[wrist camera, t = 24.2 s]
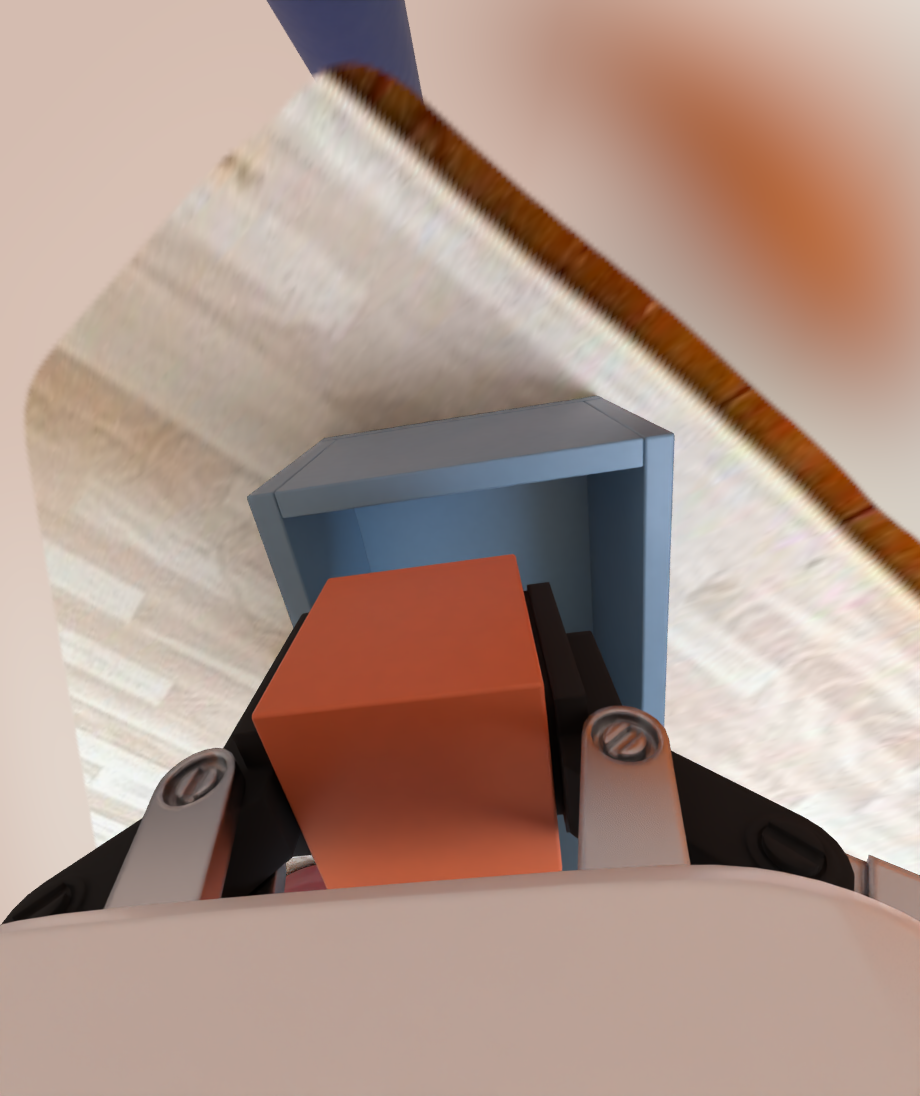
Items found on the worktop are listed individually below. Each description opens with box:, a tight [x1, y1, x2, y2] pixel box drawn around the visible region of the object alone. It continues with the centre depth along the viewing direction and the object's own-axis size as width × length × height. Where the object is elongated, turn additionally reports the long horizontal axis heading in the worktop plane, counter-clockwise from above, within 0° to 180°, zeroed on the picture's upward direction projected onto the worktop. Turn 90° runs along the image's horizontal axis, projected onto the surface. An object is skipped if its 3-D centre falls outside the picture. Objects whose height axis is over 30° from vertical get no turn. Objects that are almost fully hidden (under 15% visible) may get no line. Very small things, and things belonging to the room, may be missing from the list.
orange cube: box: [252, 554, 562, 889], centre depth 10 cm, size 4×4×4 cm
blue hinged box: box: [247, 396, 674, 727], centre depth 19 cm, size 14×12×8 cm
